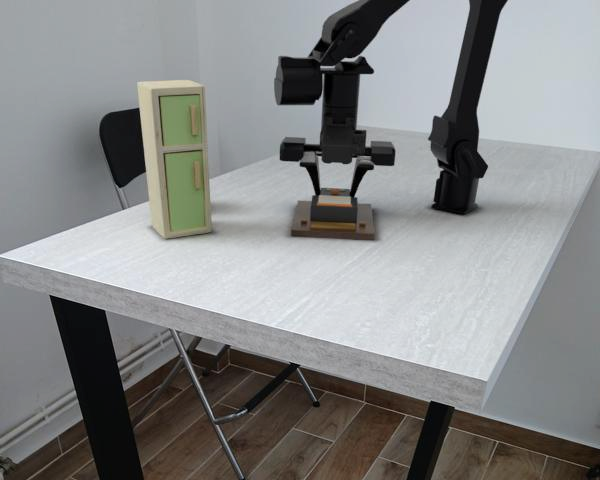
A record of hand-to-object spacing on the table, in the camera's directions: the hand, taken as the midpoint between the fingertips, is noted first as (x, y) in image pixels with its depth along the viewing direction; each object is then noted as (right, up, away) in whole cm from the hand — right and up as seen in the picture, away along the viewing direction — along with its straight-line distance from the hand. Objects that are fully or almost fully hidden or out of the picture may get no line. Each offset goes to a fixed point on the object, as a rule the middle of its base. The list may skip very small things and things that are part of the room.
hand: (334, 203), depth 110 cm
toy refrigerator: (-25, -7, -9) cm, 27 cm away
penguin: (0, -2, -3) cm, 4 cm away
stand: (0, -4, -3) cm, 5 cm away
